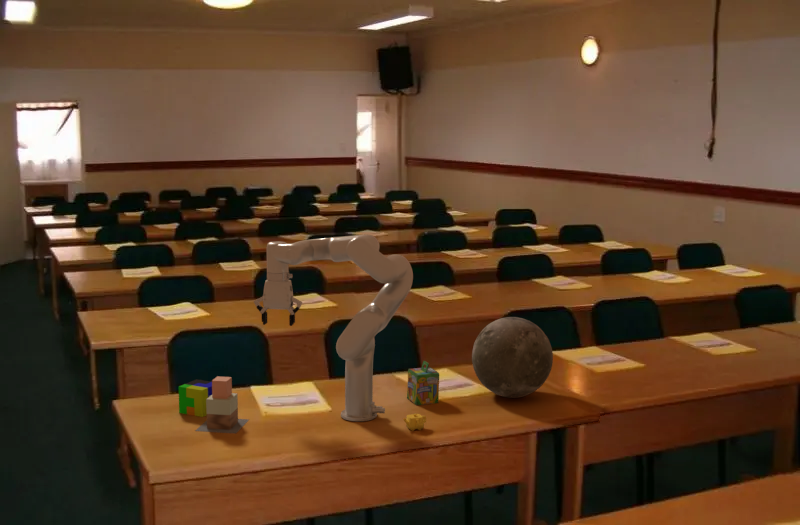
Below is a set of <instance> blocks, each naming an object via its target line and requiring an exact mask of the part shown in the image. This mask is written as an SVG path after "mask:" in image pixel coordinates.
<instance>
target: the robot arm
mask: <svg viewBox="0 0 800 525" xmlns="http://www.w3.org/2000/svg"><path fill="white" fill-rule="evenodd" d="M319 260H320V261H321V260H329V261H332V262H334V263H341V262H342V263H343V262H350V261H352V262H353V263H354V265H356V266H357V267H359V268H360V269H361V270H363V271H364V272H365V273H366V274H368V276H370V277H371V278H372V279H374V281H377V282H378V283H379V284H384V285H383V286H382V287H381V289H379V291H378V292H377V295H376V296H375V297H374V299H373V300H372V301H371V302H370V303H369V304H368V305H367V306H365V307H364V308H362V309H360V310H358V311H357V312H356V314H355V315H353V317H352V319H351V320H350V322H348V324H347V325H346V327H345V329H344V330H343V331H342V333H341V334H340V335H339V337H338V338H337V341H336V343H335V344H336V345H335V349H336V350H335V351H336V353H337V354H338V357H339V358H341V359H342V360H345V364H344V365H345V366H344V367H345V369H344V370H345V371H344V378H345V379H344V385H345V386H344V407H345V408H344V409H343V410H342V411H341V412H340V417H341V418H342V419H343V420H344V421H345V420H346V421H349V422H367V421H372V420H374V419H376V418H377V417H378V414H386V413H385V412H386V408H385V407H383V406H382V405H381V406H380V405H378V406H377V405H376V404H375V401H373V399H374V398H373V390H374V389H373V388H374V387H373V386H374V384H373V383H374V382H373V381H374V380H373V378H374V377H373V375H374V374H373V373H374V370H373V369H374V354H375V346H376V344H375V343H376V340H375V337H376V335H377V334H378V333H380V332H381V331H383V330H384V329H386V327H387V326H388V324H389V323H390V321H391V319H392V318H393V317H394V316H395V314H396V312H397V311H398V309H399V308H400V306H402V303H403V302H404V301H405V299H406V298H407V296H408V294H409V293H410V290H411V288H412V286H413V280H414V273H413V268H412V265H411V263H410V261H409V260H408V259H407V258H406V256H403V255H402V254H399V253H398V254H390V255H387V256H386V255H384V254H383V253H382V252H380V242H379V240H378V238H377V237H375V236H374V235H373V234H369V233H367V234H366V233H365V234H356V235H345V236H333V237H332V236H331V237H324V238H313V239H305V240H299V241H296V242H293V243H287V242H285V241H278V240H277V241H269V242H267V245H266V280H265V282H264V286H263V294H262V296H260V297H259V298H257V299H254V300H253V304H254V305H255V307H256V309H257V310H258V311H259V313H260V314H261V322H262V326H265V325H267V324H268V312H267V310H268V309H269V310H287V311H288V313H290V314H289V317H288V318H289V319H288V320H289V321H288V322H289V323H288V324H289V325H288V326H290V327H293V325H294V324H295V323H296V313H297V312H298V311H299V310H300V309H301V307H302V305H303V301H301V300H299V299H297V298H296V297H294V292H293V291H294V290H293V285H292V284H293V283H292V280H291V279H293V273H290V271H289V265H290V266H291V265H292V266H298V265H301V264H303V263H306V262H309V261H319ZM260 302H262V305H263V306H262V305H261V303H260ZM294 304H296V307H295V308H294Z"/></svg>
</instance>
